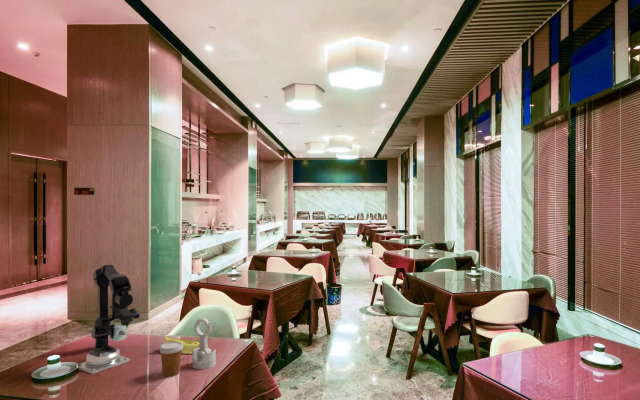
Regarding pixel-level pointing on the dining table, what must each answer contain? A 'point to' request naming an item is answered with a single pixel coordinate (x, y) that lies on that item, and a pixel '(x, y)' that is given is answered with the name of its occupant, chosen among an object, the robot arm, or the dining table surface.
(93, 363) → the metal mounting base
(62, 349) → the dining table surface
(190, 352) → the plastic component
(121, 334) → the block with peg
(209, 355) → the engine component
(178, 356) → the disposable coffee cup
